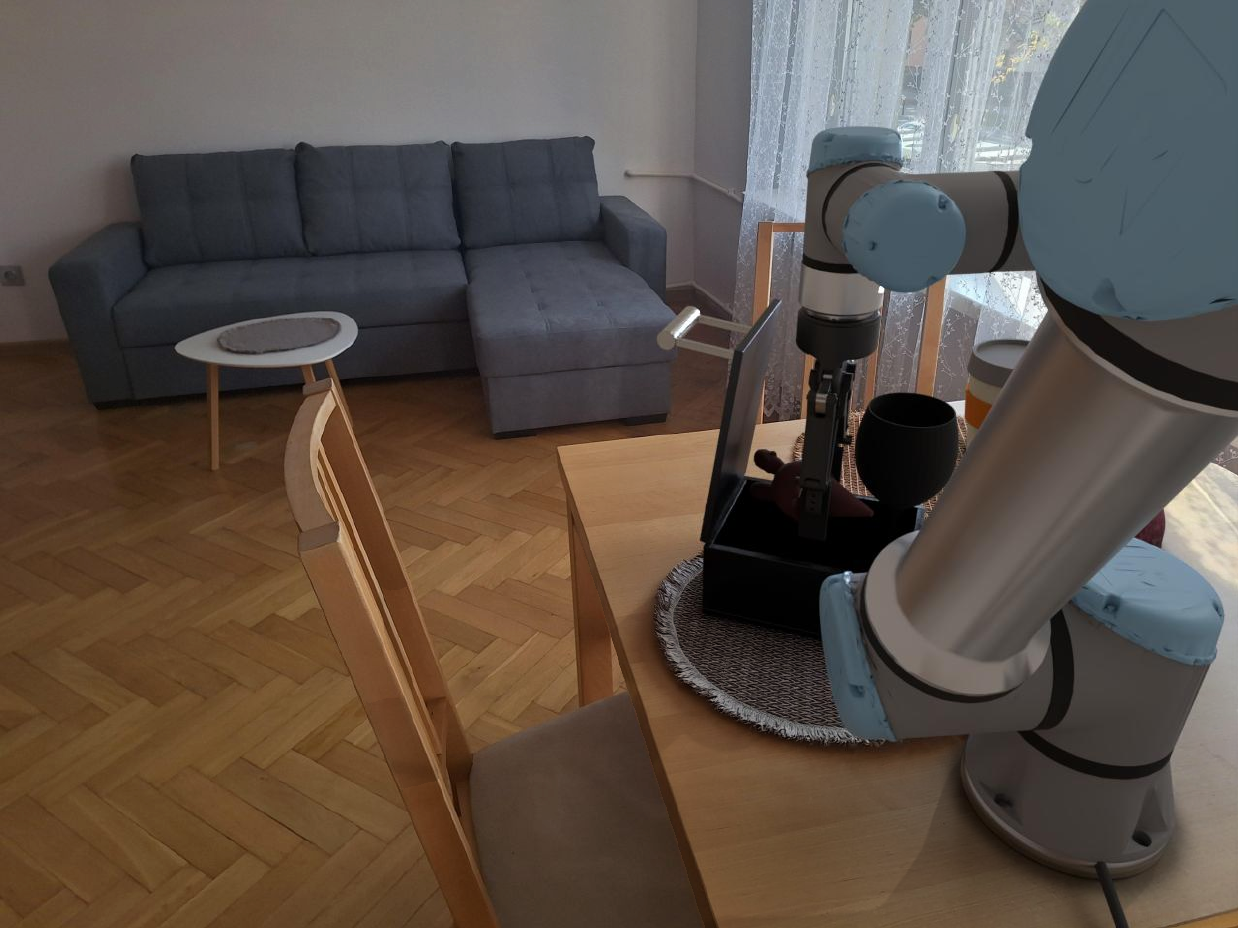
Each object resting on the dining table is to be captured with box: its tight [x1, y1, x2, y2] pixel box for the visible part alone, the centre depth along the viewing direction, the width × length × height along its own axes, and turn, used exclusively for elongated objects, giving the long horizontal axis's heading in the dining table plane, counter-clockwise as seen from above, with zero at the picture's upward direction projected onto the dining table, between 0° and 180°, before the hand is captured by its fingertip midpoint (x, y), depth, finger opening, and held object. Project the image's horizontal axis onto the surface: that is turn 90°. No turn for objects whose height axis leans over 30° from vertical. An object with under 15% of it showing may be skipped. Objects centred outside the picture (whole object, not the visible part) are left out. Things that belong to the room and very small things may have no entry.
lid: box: [656, 298, 782, 544], centre depth 87 cm, size 21×16×9 cm
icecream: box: [749, 448, 874, 523], centre depth 87 cm, size 7×7×15 cm
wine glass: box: [851, 391, 960, 573], centre depth 91 cm, size 10×10×20 cm
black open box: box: [701, 475, 927, 641], centre depth 90 cm, size 21×16×9 cm
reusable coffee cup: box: [964, 337, 1031, 451], centre depth 115 cm, size 13×13×15 cm
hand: (818, 517), depth 88 cm, fingers closed on icecream, 7 cm apart
